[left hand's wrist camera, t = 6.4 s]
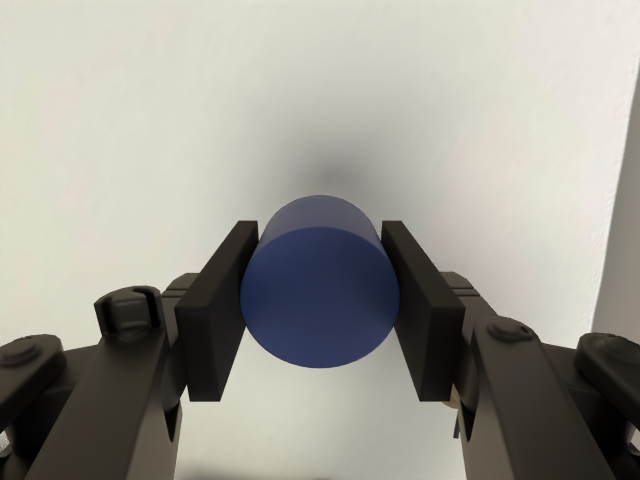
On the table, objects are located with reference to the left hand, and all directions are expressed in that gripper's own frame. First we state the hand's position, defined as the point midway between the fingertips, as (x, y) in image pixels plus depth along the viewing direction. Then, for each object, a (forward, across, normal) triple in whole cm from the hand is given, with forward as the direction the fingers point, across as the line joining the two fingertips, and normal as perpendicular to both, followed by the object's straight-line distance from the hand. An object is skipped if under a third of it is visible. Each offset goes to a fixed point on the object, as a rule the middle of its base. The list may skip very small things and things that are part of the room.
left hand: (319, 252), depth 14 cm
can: (0, 0, 0) cm, 0 cm away
